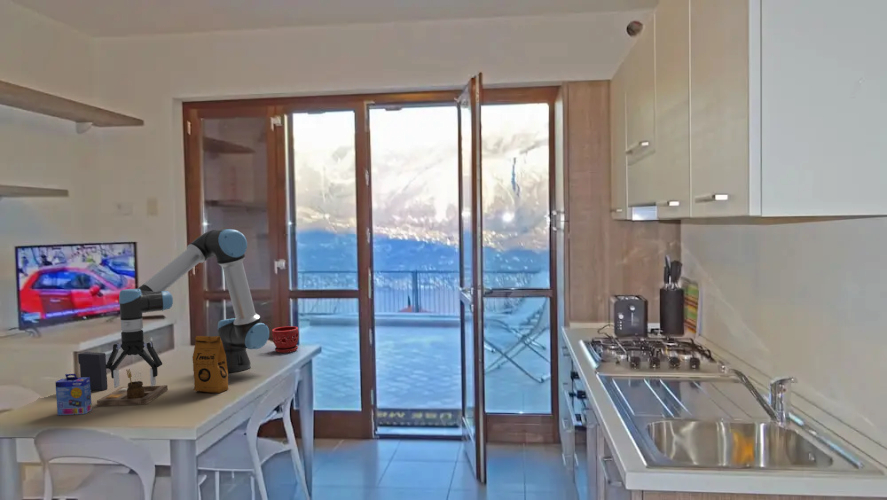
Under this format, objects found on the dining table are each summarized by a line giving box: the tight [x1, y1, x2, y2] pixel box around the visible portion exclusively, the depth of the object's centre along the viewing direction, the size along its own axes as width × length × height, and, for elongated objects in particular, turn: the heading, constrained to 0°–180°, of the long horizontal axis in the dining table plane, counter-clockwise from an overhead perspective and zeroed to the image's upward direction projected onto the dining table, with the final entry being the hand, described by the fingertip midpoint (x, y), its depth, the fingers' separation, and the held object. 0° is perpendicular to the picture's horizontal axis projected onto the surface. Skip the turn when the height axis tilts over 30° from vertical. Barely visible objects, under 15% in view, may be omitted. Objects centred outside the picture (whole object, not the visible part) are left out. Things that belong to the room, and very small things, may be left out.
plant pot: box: [271, 325, 300, 354], centre depth 335 cm, size 13×13×12 cm
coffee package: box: [192, 335, 229, 394], centre depth 258 cm, size 10×12×22 cm
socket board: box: [96, 384, 168, 407], centre depth 252 cm, size 18×20×2 cm
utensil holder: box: [126, 368, 144, 399], centre depth 247 cm, size 6×6×12 cm
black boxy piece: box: [77, 351, 109, 392], centre depth 267 cm, size 11×4×15 cm, turn 71°
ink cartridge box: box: [54, 373, 93, 416], centre depth 233 cm, size 10×6×14 cm, turn 95°
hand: (135, 386), depth 247 cm, fingers open, 13 cm apart
